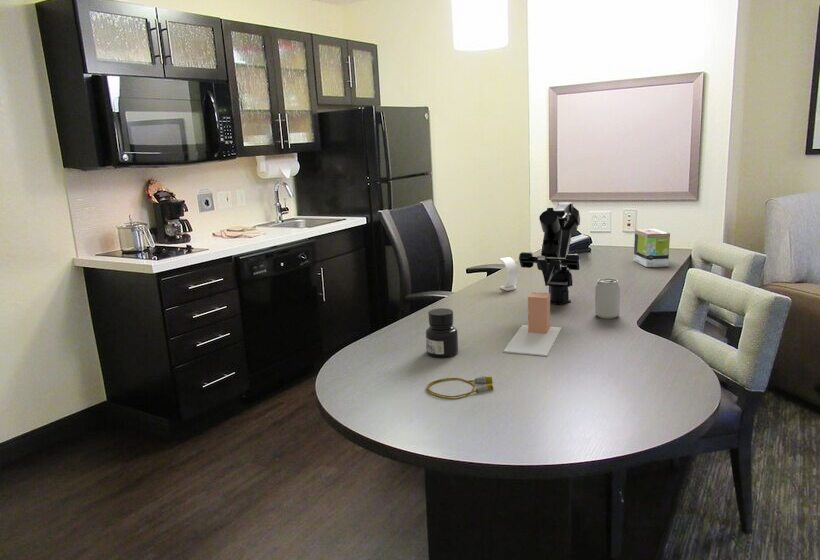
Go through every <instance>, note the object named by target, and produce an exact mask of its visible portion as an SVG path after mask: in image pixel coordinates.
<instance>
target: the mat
mask: <svg viewBox="0 0 820 560" xmlns="http://www.w3.org/2000/svg"><path fill="white" fill-rule="evenodd" d="M561 331H562V327H558V326H550V329H549V331H548V332H547V334H544V333H531V332H528V324H521V326H520V327H519V329H518V330H517V332H516V333H515V335H513V337H512V338H511V340H510V341H509V342H508V344H507V345H506V346H505V348H504V349H503V351H502V352H503V353H507V354H517V355H530V356H539V357H540V356H541V357H548V356H549V354H550V352H551V350H552V348H553V346H554V344H555V343H556V340H557V339H558V336H559V335H560V333H561Z"/></svg>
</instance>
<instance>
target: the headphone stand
mask: <svg viewBox="0 0 820 560" xmlns="http://www.w3.org/2000/svg"><path fill="white" fill-rule="evenodd" d="M498 261H499V262H501V263H502V264H503V266H504V267H505V270H506V275H507V276H506V282H505V284H504V285H500V286H499V289H501V290H503V291H504V290H505V291H506V292H507V291H512V290H517V289H518V288H517V286H516V285H517V283H518V280H519V269H518V265H517V264H516V262H515V260H514V259H513V258H512V257H510V256H507V257H500V258H499V259H498Z"/></svg>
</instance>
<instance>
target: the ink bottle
mask: <svg viewBox="0 0 820 560" xmlns="http://www.w3.org/2000/svg"><path fill="white" fill-rule="evenodd" d="M427 315H428V316H427V317H428V324H429V325H428V326H429V327H427V329H426V330H425V345H426V346H425V347H426V348H425V349H426V354H427V355H429V356H431V357H432V358H440V359H442V358H449V357H452V356H453V357H454V356H455V355H457V354H458V353H459V339H458V338H459V336H458V335H459V333H458V329H457V328H456V327H455V326H454V311H453V309H450V308H445V307H443V308H441V307H440V308H434V309H430V310H429V311H428V313H427Z"/></svg>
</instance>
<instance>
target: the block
mask: <svg viewBox="0 0 820 560" xmlns="http://www.w3.org/2000/svg"><path fill="white" fill-rule="evenodd" d="M527 325H528V332H531V333H544V334H547V332H548V331H549V329H550V327H551V303H550V293H549V292H537V291H536V292H534V291H531V292H530V294H529V295H528V296H527Z"/></svg>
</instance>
